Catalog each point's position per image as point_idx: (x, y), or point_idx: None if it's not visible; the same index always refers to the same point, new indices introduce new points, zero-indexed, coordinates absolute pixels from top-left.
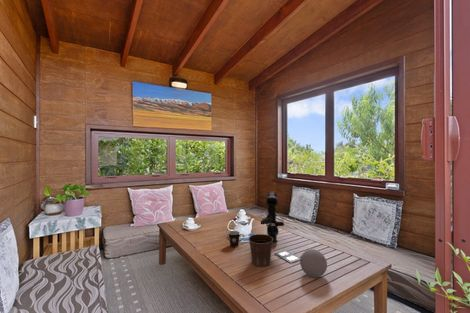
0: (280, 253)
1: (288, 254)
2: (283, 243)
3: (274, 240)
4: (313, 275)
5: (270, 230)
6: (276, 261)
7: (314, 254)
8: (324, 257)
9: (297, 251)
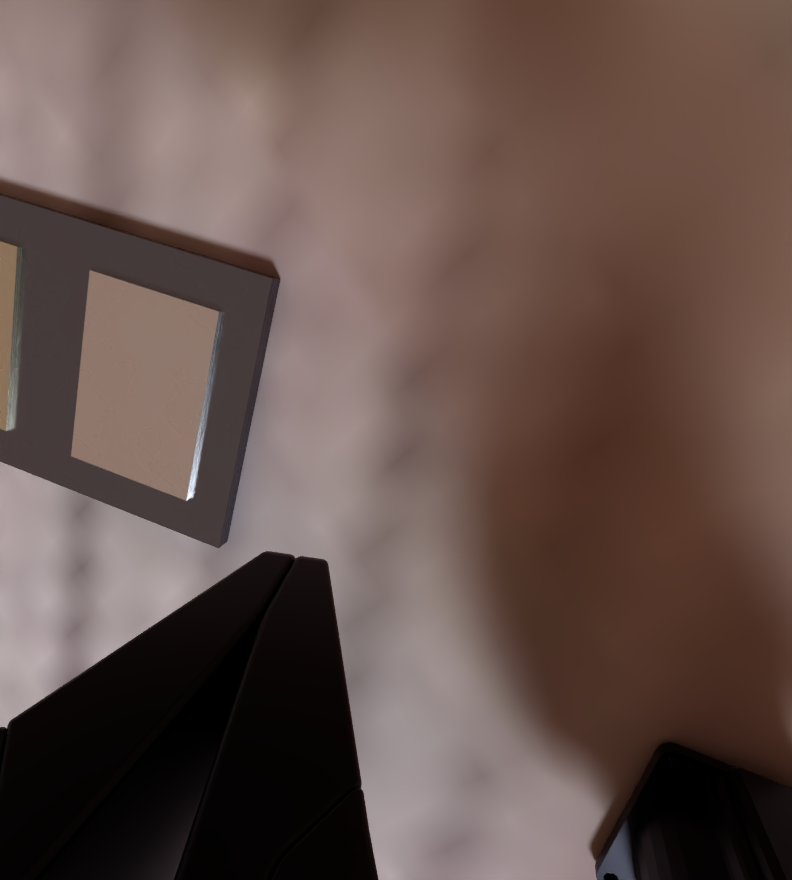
0: (186, 350)
1: (77, 418)
2: (453, 830)
3: (646, 844)
4: None
5: (240, 778)
6: (69, 17)
7: None
8: None
9: (98, 643)
